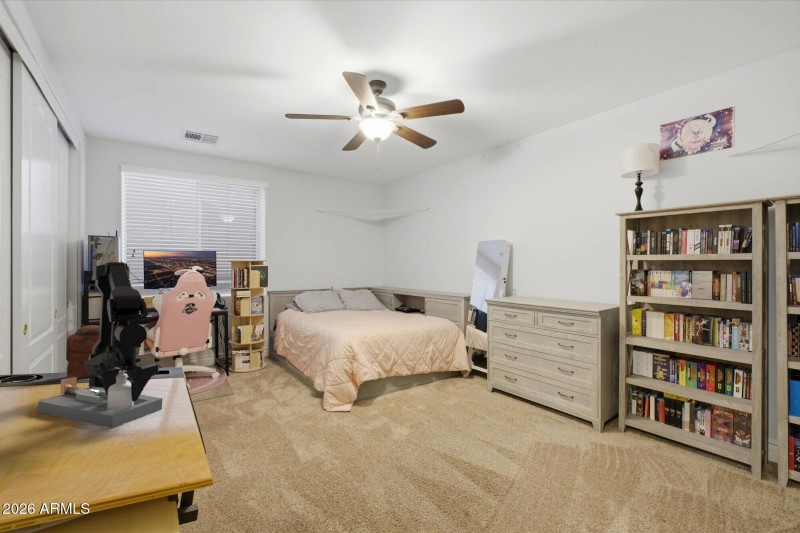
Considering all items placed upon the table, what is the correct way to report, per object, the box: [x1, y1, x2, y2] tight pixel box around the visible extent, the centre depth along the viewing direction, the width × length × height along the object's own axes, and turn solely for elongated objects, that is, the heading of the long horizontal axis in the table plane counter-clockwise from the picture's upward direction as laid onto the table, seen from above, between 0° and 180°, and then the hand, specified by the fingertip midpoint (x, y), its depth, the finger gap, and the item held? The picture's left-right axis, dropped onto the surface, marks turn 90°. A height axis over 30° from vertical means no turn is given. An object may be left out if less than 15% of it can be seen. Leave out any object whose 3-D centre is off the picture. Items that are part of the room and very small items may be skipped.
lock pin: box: [60, 377, 101, 396], centre depth 103 cm, size 3×12×4 cm, turn 73°
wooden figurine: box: [65, 324, 100, 379], centre depth 130 cm, size 12×6×18 cm, turn 137°
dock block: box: [37, 386, 163, 429], centre depth 100 cm, size 14×27×4 cm, turn 73°
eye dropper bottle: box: [107, 370, 134, 411], centre depth 98 cm, size 4×6×12 cm
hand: (121, 398), depth 98 cm, fingers open, 9 cm apart
